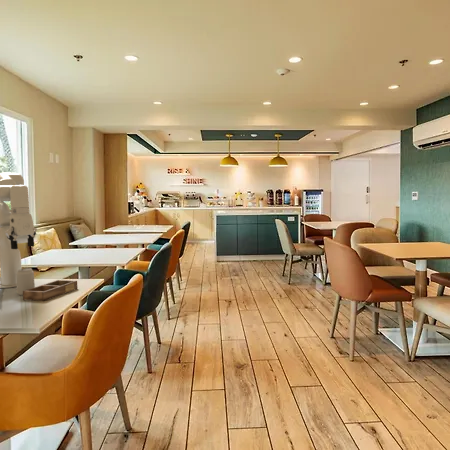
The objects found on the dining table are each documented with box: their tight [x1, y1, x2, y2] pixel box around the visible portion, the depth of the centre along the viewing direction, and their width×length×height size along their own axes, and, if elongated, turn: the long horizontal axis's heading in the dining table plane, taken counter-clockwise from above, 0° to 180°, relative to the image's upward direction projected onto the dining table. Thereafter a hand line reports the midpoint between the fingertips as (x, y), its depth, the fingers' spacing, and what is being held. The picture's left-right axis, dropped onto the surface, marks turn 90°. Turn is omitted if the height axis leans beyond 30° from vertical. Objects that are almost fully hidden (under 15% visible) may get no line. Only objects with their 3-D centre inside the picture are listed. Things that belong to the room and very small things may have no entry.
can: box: [16, 267, 36, 296], centre depth 172 cm, size 8×8×12 cm
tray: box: [22, 279, 78, 302], centre depth 170 cm, size 12×22×4 cm, turn 164°
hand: (23, 247), depth 170 cm, fingers open, 9 cm apart
